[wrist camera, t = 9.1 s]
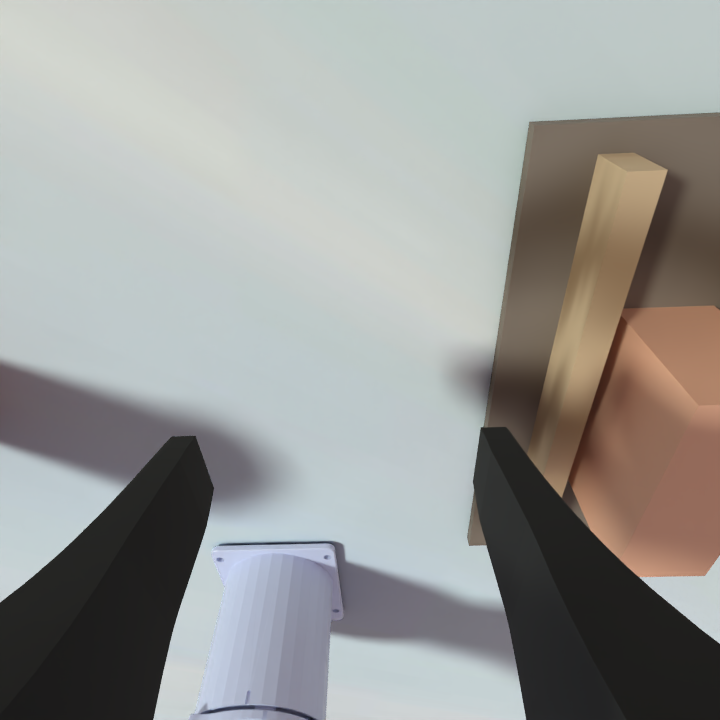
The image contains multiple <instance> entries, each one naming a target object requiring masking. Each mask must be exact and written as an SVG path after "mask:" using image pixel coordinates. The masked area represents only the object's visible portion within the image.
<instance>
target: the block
mask: <svg viewBox="0 0 720 720" xmlns="http://www.w3.org/2000/svg"><path fill="white" fill-rule="evenodd" d="M568 480H569V483H570V485H571V487H572V489H573V492H574V494H575V496H576V498H577V501H578V503H579V505H580V507H581V510H582V512H583V514H584V517H585V519H586V521H587V523H588V526H589V528H590V530H591V531H592V532H593V533H594V534H595V535H596V536H597V537H598V539H599V540H600V541H601V542H602V543H603V544H604V545H605V546H606V547H607V548H608V549H609V550H610V551H611V552H612V553H613V554H615V555H616V556H617V557H618V558H619V559H620V560H621V561H622V562H623V563H624V564H625V565H626V566H627V567H628V568H629V569H630V570H631V571H633V572H634V573H635V574H636V575H637V576H638V577H663V576H705V575H706V573H707V572H708V571H709V569H710V568H711V567H712V565H713V564H714V562H715V561H716V560H717V558H718V557H719V555H720V310H719V309H718V308H716V307H715V306H686V307H656V308H626V309H623V310H622V313H621V316H620V319H619V323H618V326H617V329H616V332H615V335H614V338H613V341H612V344H611V347H610V350H609V353H608V357H607V360H606V363H605V366H604V369H603V372H602V375H601V378H600V381H599V384H598V387H597V391H596V394H595V397H594V400H593V403H592V406H591V409H590V412H589V415H588V418H587V421H586V425H585V428H584V431H583V434H582V437H581V440H580V443H579V446H578V449H577V452H576V455H575V459H574V462H573V465H572V468H571V471H570V474H569V477H568Z"/></svg>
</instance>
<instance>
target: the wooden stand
mask: <svg viewBox="0 0 720 720" xmlns="http://www.w3.org/2000/svg"><path fill="white" fill-rule="evenodd" d="M686 306H715V307H716V308H718V309H719V310H720V113H701V114H681V115H660V116H640V117H620V118H600V119H580V120H560V121H539V122H529V129H528V135H527V142H526V149H525V155H524V162H523V169H522V175H521V182H520V189H519V195H518V202H517V209H516V215H515V222H514V229H513V235H512V242H511V249H510V256H509V262H508V269H507V276H506V282H505V289H504V296H503V302H502V309H501V316H500V322H499V329H498V336H497V342H496V349H495V356H494V362H493V369H492V376H491V382H490V389H489V396H488V403H487V409H486V416H485V423H484V427H506V428H508V429H509V430H510V432H511V433H512V435H513V436H514V437H515V439H516V440H517V442H518V443H519V444H520V446H521V447H522V449H523V450H524V451H525V453H526V454H527V455H528V457H529V458H530V459H531V461H532V462H533V463H534V465H535V466H536V467H537V468H538V470H539V471H540V472H541V474H542V475H543V476H544V477H545V479H546V480H547V481H548V482H549V483H550V485H551V486H552V487H553V488H554V489H555V491H556V492H557V493H558V494H559V495H560V497H561V498H562V499H563V500H564V501H565V503H566V504H567V505H568V506H569V507H570V508H571V509H572V511H573V512H574V513H575V514H576V515H577V516H578V517H579V518H580V519H581V520H582V522H583V523H584V524H585V525H586V526H587V527H588V528H589V526H588V523H587V521H586V519H585V517H584V514H583V512H582V510H581V507H580V505H579V503H578V501H577V498H576V496H575V494H574V492H573V489H572V487H571V485H570V483H569V480H568V477H569V474H570V471H571V468H572V465H573V462H574V459H575V455H576V452H577V449H578V446H579V443H580V440H581V437H582V434H583V431H584V428H585V425H586V421H587V418H588V415H589V412H590V409H591V406H592V403H593V400H594V397H595V394H596V391H597V387H598V384H599V381H600V378H601V375H602V372H603V369H604V366H605V363H606V360H607V357H608V353H609V350H610V347H611V344H612V341H613V338H614V335H615V332H616V329H617V326H618V323H619V319H620V316H621V313H622V310H623V309H626V308H656V307H686ZM589 529H590V528H589ZM467 538H468V543H469V546H473V545H486V542H485V538H484V534H483V531H482V527H481V524H480V520H479V514H478V509H477V503H476V497H475V490H474V496H473V503H472V509H471V516H470V523H469V529H468V536H467Z"/></svg>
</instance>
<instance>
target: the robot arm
mask: <svg viewBox="0 0 720 720" xmlns="http://www.w3.org/2000/svg"><path fill="white" fill-rule="evenodd" d="M473 484H474V490H475V497H476V503H477V509H478V514H479V520H480V524H481V527H482V531H483V534H484V538H485V542H486V545H487V549H488V552H489V556H490V559H491V562H492V566H493V569H494V573H495V576H496V580H497V583H498V587H499V590H500V594H501V597H502V601H503V604H504V608H505V612H506V616H507V620H508V624H509V628H510V633H511V638H512V644H513V649H514V654H515V659H516V664H517V670H518V675H519V681H520V686H521V692H522V698H523V703H524V709H525V714H526V720H720V644H719V643H718V642H717V641H715V640H714V639H713V638H711V637H710V636H709V635H707V634H706V633H705V632H703V631H702V630H701V629H700V628H698V627H697V626H696V625H695V624H694V623H692V622H691V621H690V620H689V619H688V618H686V617H685V616H684V615H683V614H681V613H680V612H679V611H678V610H677V609H675V608H674V607H673V606H672V605H671V604H669V603H668V602H667V601H666V600H664V599H663V598H662V597H661V596H660V595H658V594H657V593H656V592H655V591H654V590H652V589H651V588H650V587H649V586H648V585H647V584H646V583H645V582H644V581H642V580H641V579H640V578H639V577H638V576H637V575H636V574H635V573H634V572H633V571H631V570H630V569H629V568H628V567H627V566H626V565H625V564H624V563H623V562H622V561H621V560H620V559H619V558H618V557H617V556H616V555H615V554H613V553H612V552H611V551H610V550H609V549H608V548H607V547H606V546H605V545H604V544H603V543H602V542H601V541H600V540H599V539H598V537H597V536H596V535H595V534H594V533H593V532H592V531H591V530H590V529H589V528H588V527H587V526H586V525H585V524H584V523H583V522H582V520H581V519H580V518H579V517H578V516H577V515H576V514H575V513H574V512H573V511H572V509H571V508H570V507H569V506H568V505H567V504H566V503H565V501H564V500H563V499H562V498H561V497H560V495H559V494H558V493H557V492H556V491H555V489H554V488H553V487H552V486H551V485H550V483H549V482H548V481H547V480H546V479H545V477H544V476H543V475H542V474H541V472H540V471H539V470H538V468H537V467H536V466H535V465H534V463H533V462H532V461H531V459H530V458H529V457H528V455H527V454H526V453H525V451H524V450H523V449H522V447H521V446H520V444H519V443H518V442H517V440H516V439H515V437H514V436H513V435H512V433H511V432H510V430H509V429H508V428H506V427H481V430H480V437H479V444H478V451H477V458H476V465H475V472H474V479H473ZM213 490H214V487H213V484H212V482H211V479H210V476H209V473H208V470H207V468H206V465H205V462H204V459H203V456H202V453H201V451H200V448H199V445H198V442H197V439H196V436H177V437H171V438H170V439H169V440H168V441H167V442H166V443H165V444H164V446H163V447H162V448H161V449H160V450H159V451H158V452H157V453H156V454H155V455H154V457H153V458H152V459H151V460H150V461H149V462H148V463H147V464H146V466H145V467H144V468H143V469H142V470H141V471H140V472H139V473H138V474H137V476H136V477H135V478H134V479H133V480H132V481H131V482H130V483H129V484H128V485H127V486H126V488H125V489H124V490H123V491H122V492H121V493H120V494H119V495H118V496H117V497H116V498H115V499H114V500H113V501H112V502H111V504H110V505H109V506H108V507H107V508H106V509H105V510H104V511H103V512H102V513H101V514H100V515H99V516H98V517H97V518H96V519H95V520H94V521H93V522H92V523H91V524H90V525H89V526H88V527H87V528H86V529H85V530H84V531H83V532H82V533H81V534H80V535H79V536H78V537H77V538H76V539H75V540H74V541H73V542H71V543H70V544H69V545H68V546H67V547H66V548H65V549H64V550H63V551H62V552H61V553H60V554H58V555H57V556H56V557H55V558H54V559H53V560H52V561H51V562H49V563H48V564H47V565H46V566H45V567H44V568H42V569H41V570H40V571H39V572H38V573H37V574H35V575H34V576H33V577H32V578H31V579H30V580H28V581H27V582H26V583H25V584H23V585H22V586H21V587H20V588H18V589H17V590H16V591H14V592H13V593H12V594H11V595H9V596H8V597H7V598H6V599H4V600H3V601H2V602H0V720H153V718H154V713H155V708H156V703H157V699H158V694H159V689H160V684H161V679H162V675H163V670H164V666H165V662H166V657H167V653H168V649H169V644H170V640H171V636H172V632H173V628H174V625H175V621H176V618H177V614H178V611H179V608H180V605H181V602H182V599H183V596H184V593H185V590H186V587H187V584H188V581H189V578H190V575H191V572H192V569H193V566H194V563H195V560H196V557H197V554H198V551H199V548H200V545H201V542H202V539H203V536H204V533H205V529H206V526H207V521H208V517H209V512H210V507H211V501H212V496H213ZM211 556H212V558H213V561H214V563H215V566H216V568H217V570H218V573H219V575H220V578H221V580H222V583H223V585H224V587H225V589H224V593H223V597H222V601H221V606H220V610H219V614H218V618H217V622H216V626H215V630H214V635H213V639H212V643H211V647H210V651H209V655H208V660H207V664H206V668H205V672H204V676H203V680H202V684H201V689H200V693H199V697H198V701H197V705H196V709H195V713H194V714H190V716H189V720H326V705H327V686H328V667H329V648H330V630H331V621H337V620H342V619H343V617H344V611H343V604H342V597H341V589H340V582H339V574H338V567H337V560H336V552H335V547H334V546H333V545H332V544H327V543H324V544H279V545H234V546H215V547H213V549H212V552H211Z"/></svg>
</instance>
